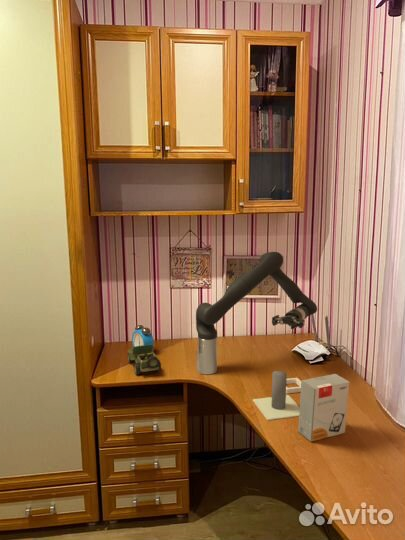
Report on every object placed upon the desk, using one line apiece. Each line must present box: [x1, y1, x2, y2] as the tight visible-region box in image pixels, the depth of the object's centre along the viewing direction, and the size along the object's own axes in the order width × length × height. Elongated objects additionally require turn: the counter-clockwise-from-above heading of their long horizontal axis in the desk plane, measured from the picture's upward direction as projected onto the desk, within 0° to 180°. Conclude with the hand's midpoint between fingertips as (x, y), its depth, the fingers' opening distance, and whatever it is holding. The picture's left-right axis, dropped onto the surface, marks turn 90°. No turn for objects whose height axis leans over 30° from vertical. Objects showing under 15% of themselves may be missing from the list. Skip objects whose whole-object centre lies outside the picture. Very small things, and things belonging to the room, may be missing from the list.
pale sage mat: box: [252, 394, 300, 421], centre depth 168 cm, size 16×16×1 cm
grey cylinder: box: [271, 370, 288, 410], centre depth 167 cm, size 6×6×14 cm
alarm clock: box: [131, 324, 155, 348], centre depth 224 cm, size 13×6×15 cm, turn 40°
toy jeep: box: [127, 344, 162, 376], centre depth 206 cm, size 12×25×11 cm, turn 22°
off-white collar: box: [286, 377, 302, 395], centre depth 185 cm, size 10×10×2 cm
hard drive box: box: [298, 373, 350, 443], centre depth 149 cm, size 16×8×20 cm, turn 114°
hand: (282, 325), depth 187 cm, fingers open, 8 cm apart
